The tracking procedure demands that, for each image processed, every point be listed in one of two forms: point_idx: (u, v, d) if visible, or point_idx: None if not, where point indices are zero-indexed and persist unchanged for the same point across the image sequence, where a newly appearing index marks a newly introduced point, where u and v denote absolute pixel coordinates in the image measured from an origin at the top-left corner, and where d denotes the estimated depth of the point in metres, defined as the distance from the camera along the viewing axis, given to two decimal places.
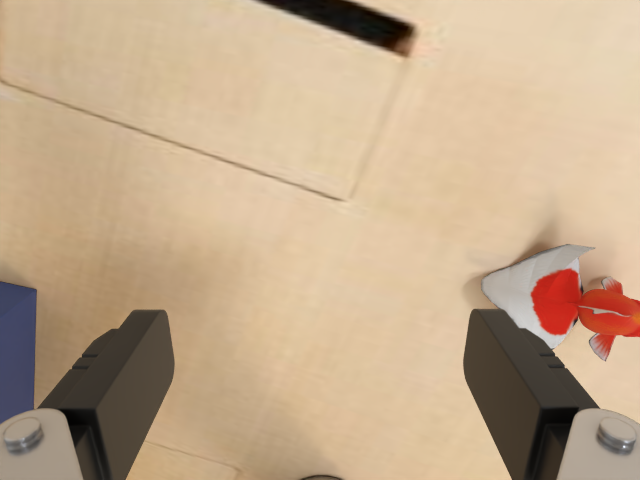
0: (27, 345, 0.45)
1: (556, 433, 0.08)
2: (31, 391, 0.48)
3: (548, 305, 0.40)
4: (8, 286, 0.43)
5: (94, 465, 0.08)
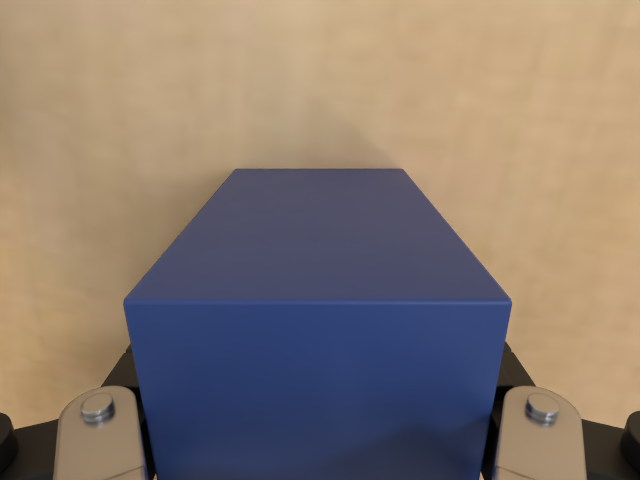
0: None
1: (492, 409, 0.08)
2: None
3: None
4: (337, 172, 0.15)
5: None
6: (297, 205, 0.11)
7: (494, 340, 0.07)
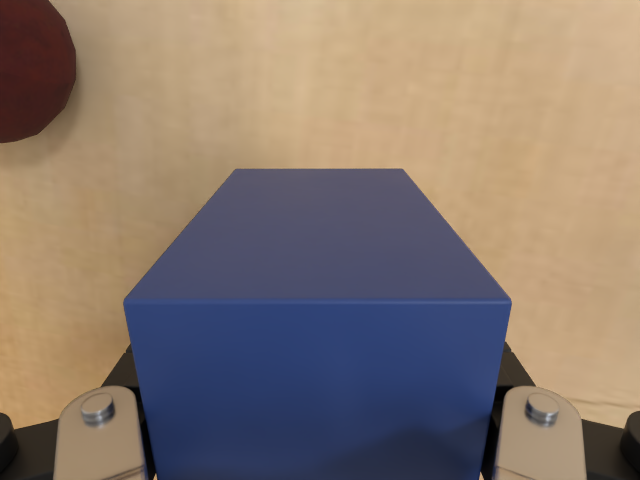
0: None
1: (492, 409, 0.08)
2: None
3: None
4: (337, 171, 0.15)
5: None
6: (297, 205, 0.11)
7: (494, 339, 0.07)
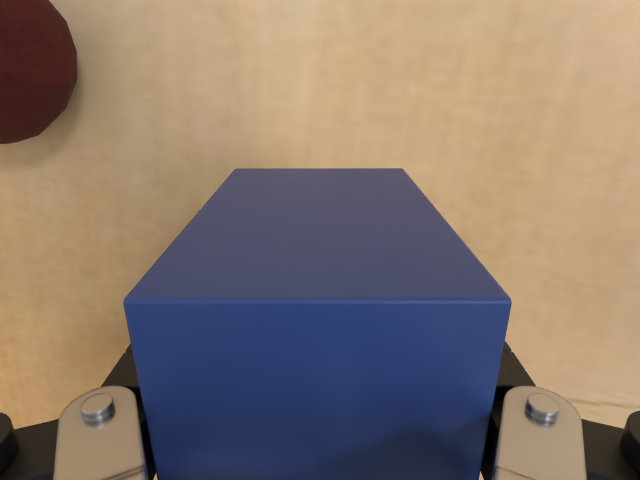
0: None
1: (492, 409, 0.08)
2: None
3: None
4: (337, 171, 0.15)
5: None
6: (297, 205, 0.11)
7: (494, 338, 0.07)
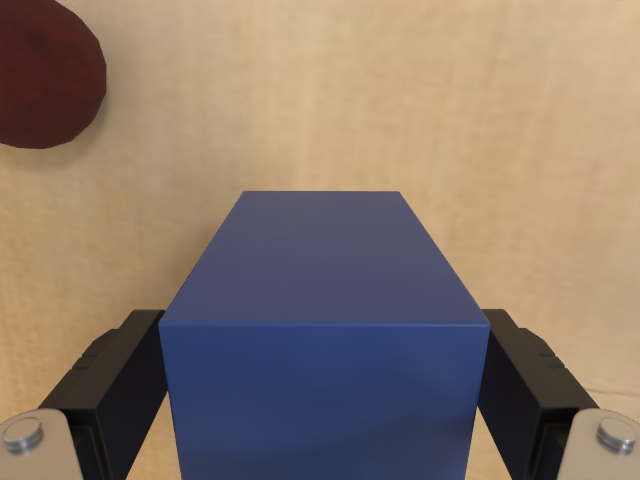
0: None
1: (556, 433, 0.08)
2: None
3: None
4: (338, 194, 0.16)
5: (95, 465, 0.08)
6: (303, 229, 0.12)
7: (476, 356, 0.08)
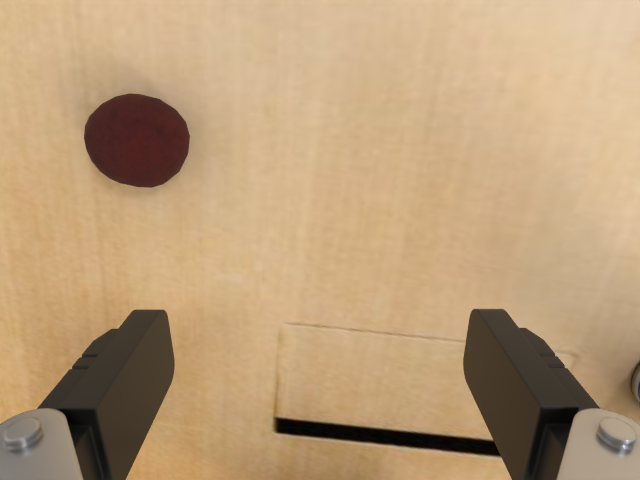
0: None
1: (556, 433, 0.08)
2: None
3: None
4: None
5: (94, 465, 0.08)
6: None
7: None
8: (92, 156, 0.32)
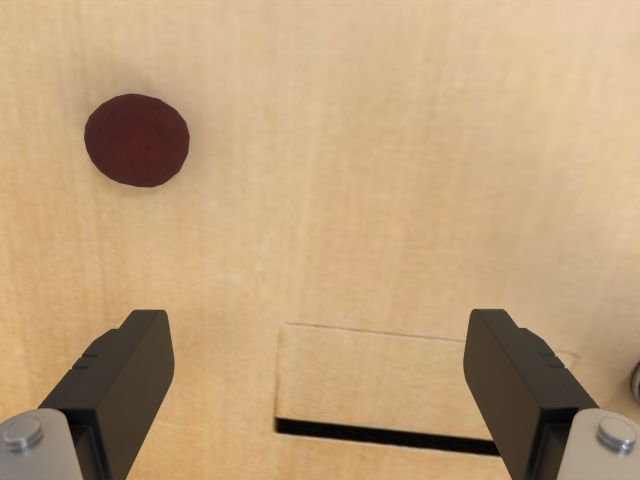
0: None
1: (556, 433, 0.08)
2: None
3: None
4: None
5: (94, 465, 0.08)
6: None
7: None
8: (92, 156, 0.32)
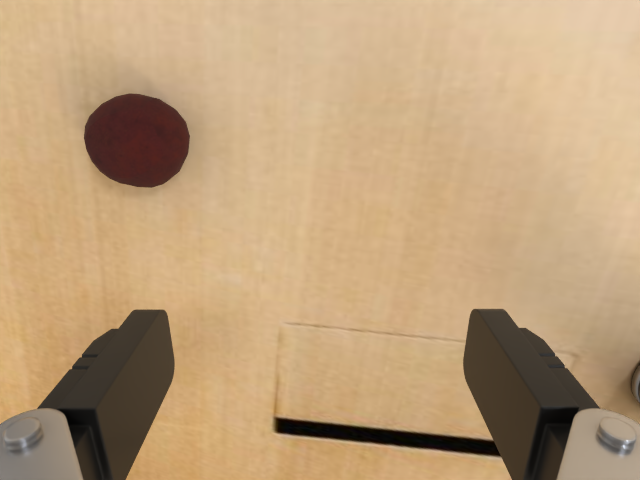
0: None
1: (556, 433, 0.08)
2: None
3: None
4: None
5: (94, 465, 0.08)
6: None
7: None
8: (92, 156, 0.32)
